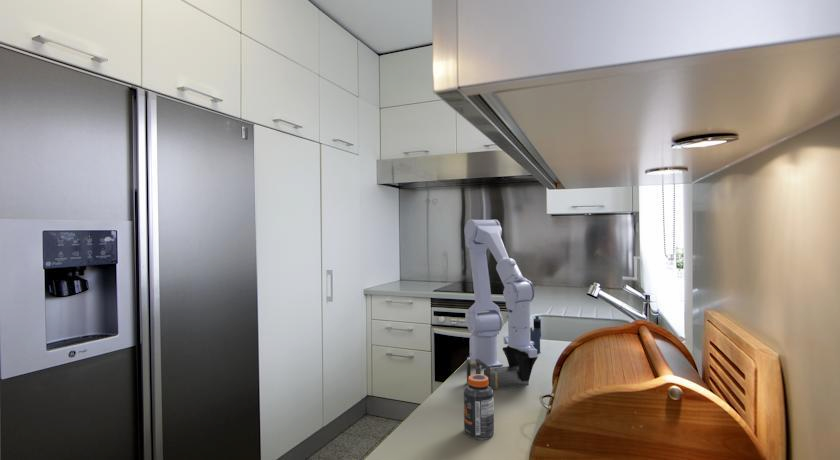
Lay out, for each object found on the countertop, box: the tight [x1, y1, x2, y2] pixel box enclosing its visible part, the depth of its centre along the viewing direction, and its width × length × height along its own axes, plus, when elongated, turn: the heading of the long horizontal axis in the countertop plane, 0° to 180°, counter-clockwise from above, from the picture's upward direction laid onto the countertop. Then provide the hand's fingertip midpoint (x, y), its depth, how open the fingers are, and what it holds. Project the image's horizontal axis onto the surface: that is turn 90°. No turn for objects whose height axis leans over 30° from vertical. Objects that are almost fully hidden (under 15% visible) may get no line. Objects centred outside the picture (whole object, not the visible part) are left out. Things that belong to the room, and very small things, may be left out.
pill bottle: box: [463, 373, 495, 440], centre depth 85 cm, size 6×6×11 cm
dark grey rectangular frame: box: [466, 359, 482, 385], centre depth 109 cm, size 7×1×7 cm, turn 16°
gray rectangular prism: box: [483, 365, 530, 390], centre depth 112 cm, size 4×11×4 cm, turn 106°
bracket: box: [476, 359, 491, 387], centre depth 110 cm, size 7×1×6 cm, turn 16°
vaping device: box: [530, 315, 542, 354], centre depth 141 cm, size 3×5×12 cm, turn 78°
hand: (519, 377), depth 113 cm, fingers open, 5 cm apart
